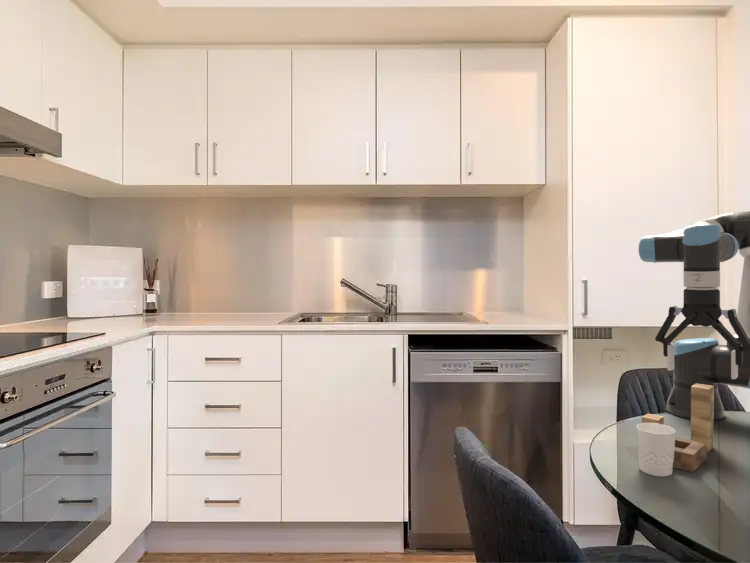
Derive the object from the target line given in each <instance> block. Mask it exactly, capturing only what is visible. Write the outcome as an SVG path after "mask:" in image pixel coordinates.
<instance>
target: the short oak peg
mask: <svg viewBox="0 0 750 563" xmlns="http://www.w3.org/2000/svg"><path fill="white" fill-rule="evenodd" d="M641 423H658V424H663V425H665V416H662V415H658V414H652V413H646V414H644V415H643V416H642V417H641Z"/></svg>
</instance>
